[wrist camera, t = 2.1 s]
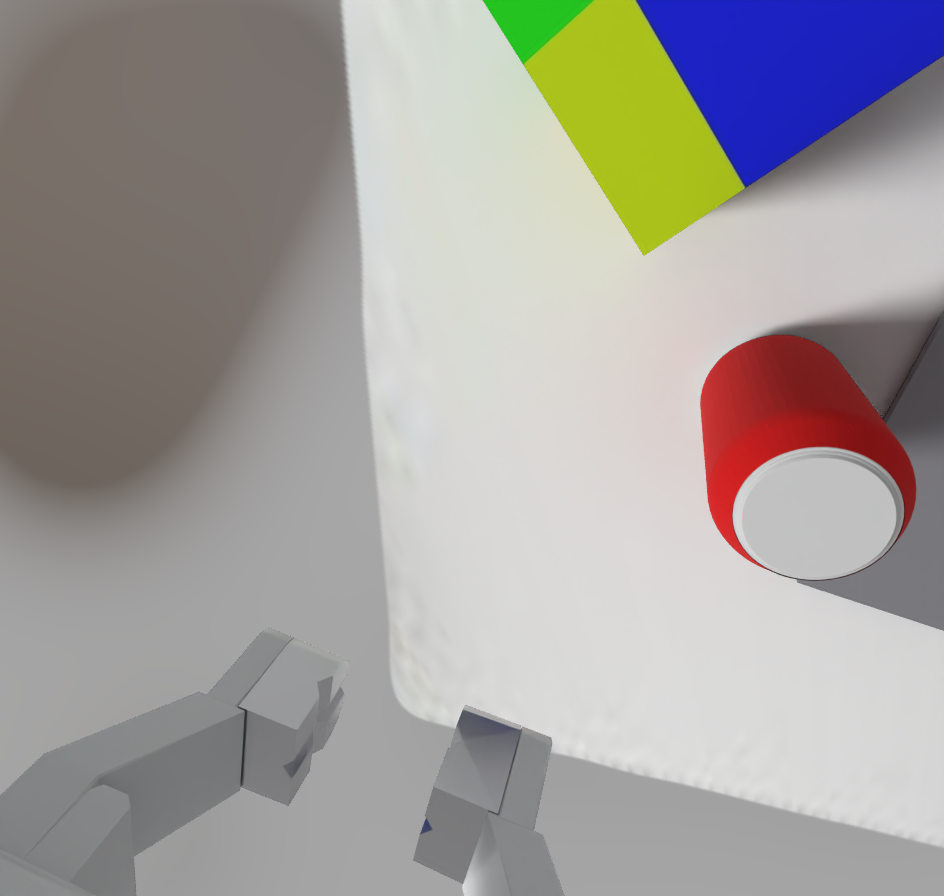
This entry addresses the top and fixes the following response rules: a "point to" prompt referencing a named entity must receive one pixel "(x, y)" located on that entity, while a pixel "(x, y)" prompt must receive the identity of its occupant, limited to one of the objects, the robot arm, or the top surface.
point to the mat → (936, 508)
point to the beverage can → (801, 462)
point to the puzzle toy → (709, 87)
